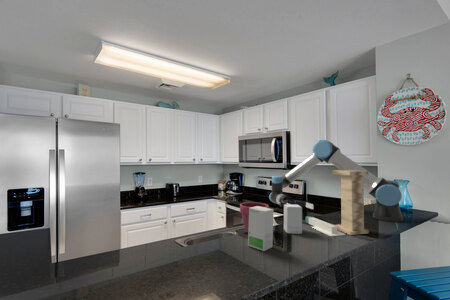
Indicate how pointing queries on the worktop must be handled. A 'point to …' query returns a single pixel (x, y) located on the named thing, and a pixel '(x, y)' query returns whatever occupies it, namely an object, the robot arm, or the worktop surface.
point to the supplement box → (293, 219)
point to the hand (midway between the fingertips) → (303, 207)
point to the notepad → (328, 232)
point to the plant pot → (245, 211)
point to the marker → (321, 224)
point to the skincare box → (260, 228)
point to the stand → (352, 202)
